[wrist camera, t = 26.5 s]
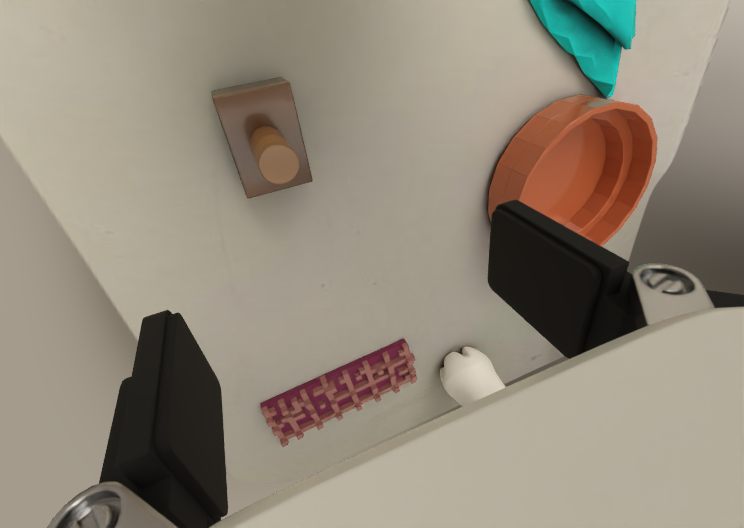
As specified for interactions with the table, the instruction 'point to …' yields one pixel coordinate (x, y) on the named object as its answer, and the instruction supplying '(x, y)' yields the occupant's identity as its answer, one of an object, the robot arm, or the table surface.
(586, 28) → the cloth
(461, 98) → the table surface
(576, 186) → the bowl
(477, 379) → the water bottle
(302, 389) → the maroon lattice panel
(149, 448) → the robot arm
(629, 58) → the table surface
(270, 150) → the stamp
